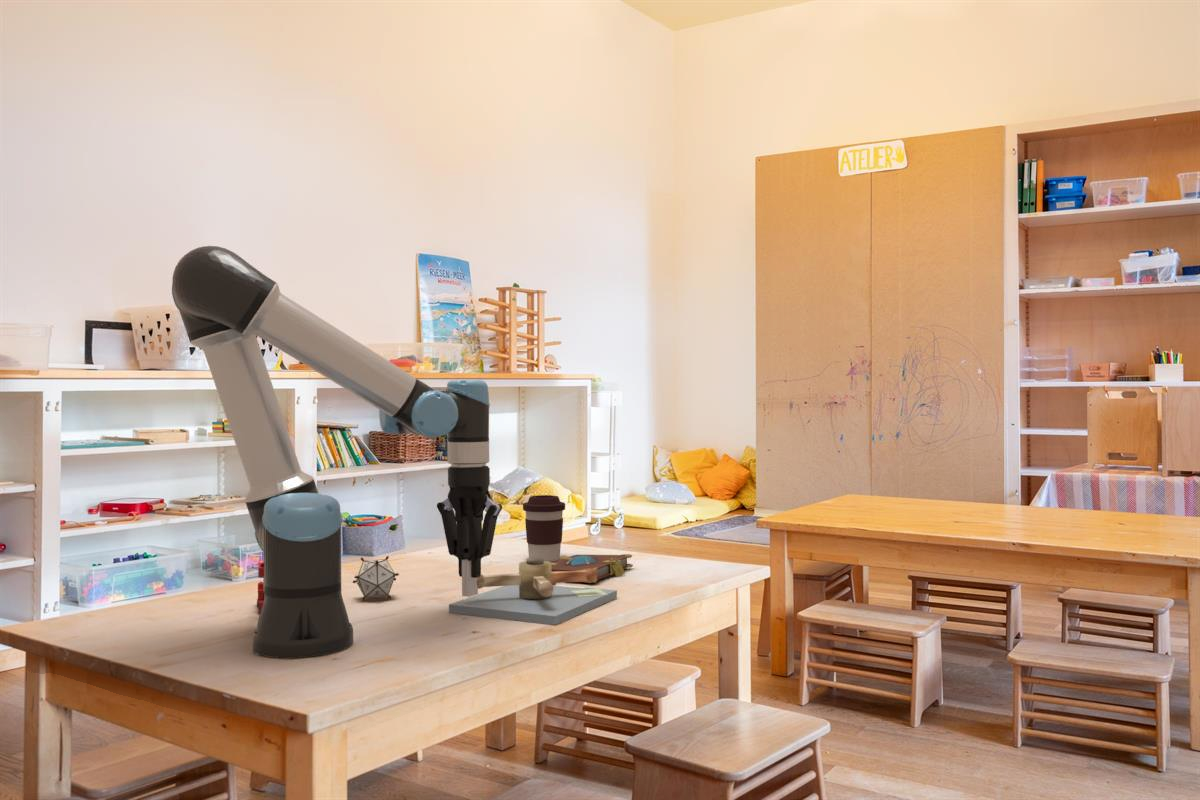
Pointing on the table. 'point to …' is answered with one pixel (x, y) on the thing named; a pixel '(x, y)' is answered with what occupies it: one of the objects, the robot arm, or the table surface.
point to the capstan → (536, 578)
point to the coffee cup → (544, 526)
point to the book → (594, 564)
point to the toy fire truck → (260, 587)
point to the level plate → (534, 604)
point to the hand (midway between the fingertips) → (469, 594)
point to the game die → (375, 578)
